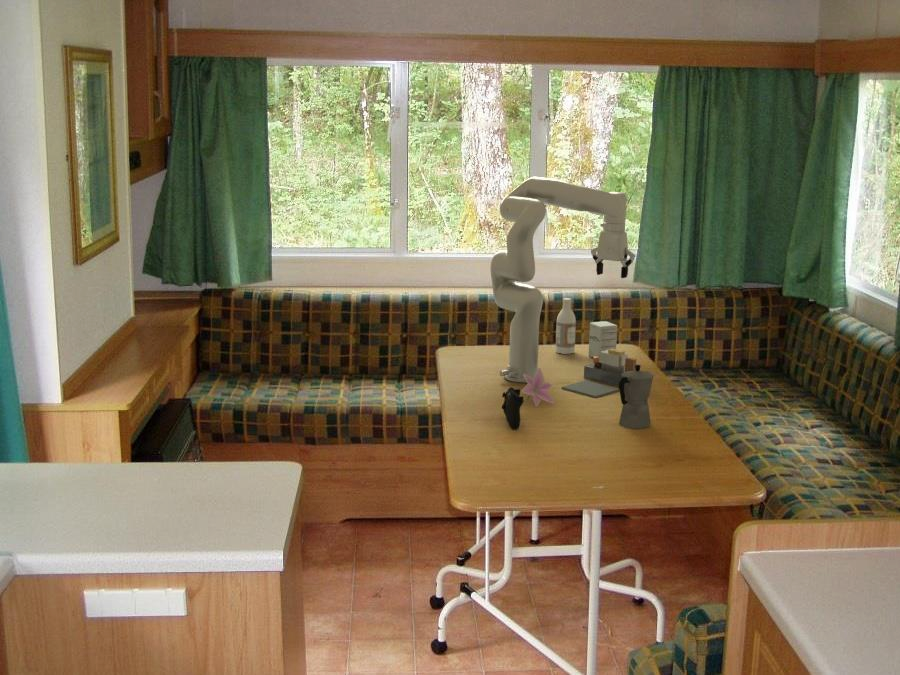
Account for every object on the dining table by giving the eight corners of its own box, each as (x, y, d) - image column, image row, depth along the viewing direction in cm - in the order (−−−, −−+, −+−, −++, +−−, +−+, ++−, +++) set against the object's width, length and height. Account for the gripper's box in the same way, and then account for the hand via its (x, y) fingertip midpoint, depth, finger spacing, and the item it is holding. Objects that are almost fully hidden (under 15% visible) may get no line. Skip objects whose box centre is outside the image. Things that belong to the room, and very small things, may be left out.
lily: (514, 410, 343) (527, 386, 338) (509, 385, 352) (521, 363, 347) (549, 419, 346) (562, 396, 341) (543, 395, 355) (556, 372, 350)
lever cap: (618, 366, 367) (619, 353, 366) (599, 362, 372) (599, 348, 371) (627, 364, 370) (628, 351, 369) (608, 359, 376) (609, 346, 374)
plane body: (626, 388, 363) (628, 361, 361) (583, 377, 376) (584, 351, 374) (641, 384, 369) (643, 357, 367) (598, 373, 381) (600, 347, 379)
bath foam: (564, 355, 405) (566, 301, 400) (551, 351, 411) (553, 298, 406) (578, 353, 409) (580, 299, 404) (565, 349, 415) (567, 296, 410)
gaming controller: (498, 416, 333) (498, 383, 331) (518, 415, 333) (519, 383, 331) (503, 430, 319) (504, 397, 317) (524, 430, 320) (525, 397, 317)
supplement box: (587, 356, 404) (589, 322, 402) (605, 354, 408) (606, 320, 405) (598, 361, 398) (600, 326, 395) (616, 359, 401) (618, 324, 398)
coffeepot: (633, 416, 334) (636, 357, 330) (660, 423, 328) (664, 363, 324) (603, 427, 323) (606, 367, 319) (631, 434, 317) (634, 373, 313)
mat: (595, 397, 353) (595, 396, 353) (561, 388, 362) (561, 386, 362) (619, 390, 361) (619, 389, 361) (585, 382, 371) (585, 380, 370)
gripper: (587, 226, 393) (585, 274, 397) (631, 231, 383) (628, 280, 387) (598, 224, 399) (595, 271, 403) (641, 229, 389) (638, 277, 393)
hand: (611, 276), depth 395 cm, fingers open, 9 cm apart
